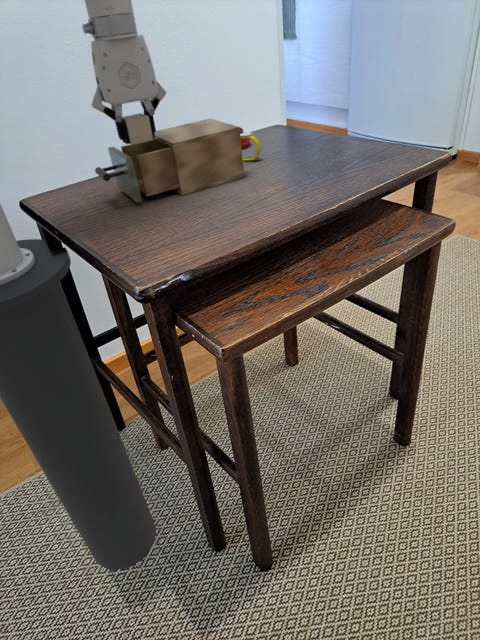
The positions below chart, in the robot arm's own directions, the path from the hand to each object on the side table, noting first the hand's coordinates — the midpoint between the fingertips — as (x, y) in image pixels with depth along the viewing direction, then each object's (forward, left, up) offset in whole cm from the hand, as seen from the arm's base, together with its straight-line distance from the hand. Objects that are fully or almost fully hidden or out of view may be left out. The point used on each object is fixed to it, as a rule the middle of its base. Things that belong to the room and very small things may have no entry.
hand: (138, 138), depth 87 cm
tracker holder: (+31, +18, -11) cm, 37 cm away
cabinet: (+12, 0, -11) cm, 16 cm away
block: (0, 0, 0) cm, 0 cm away
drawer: (0, 0, -10) cm, 10 cm away
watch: (+26, +3, -11) cm, 28 cm away
